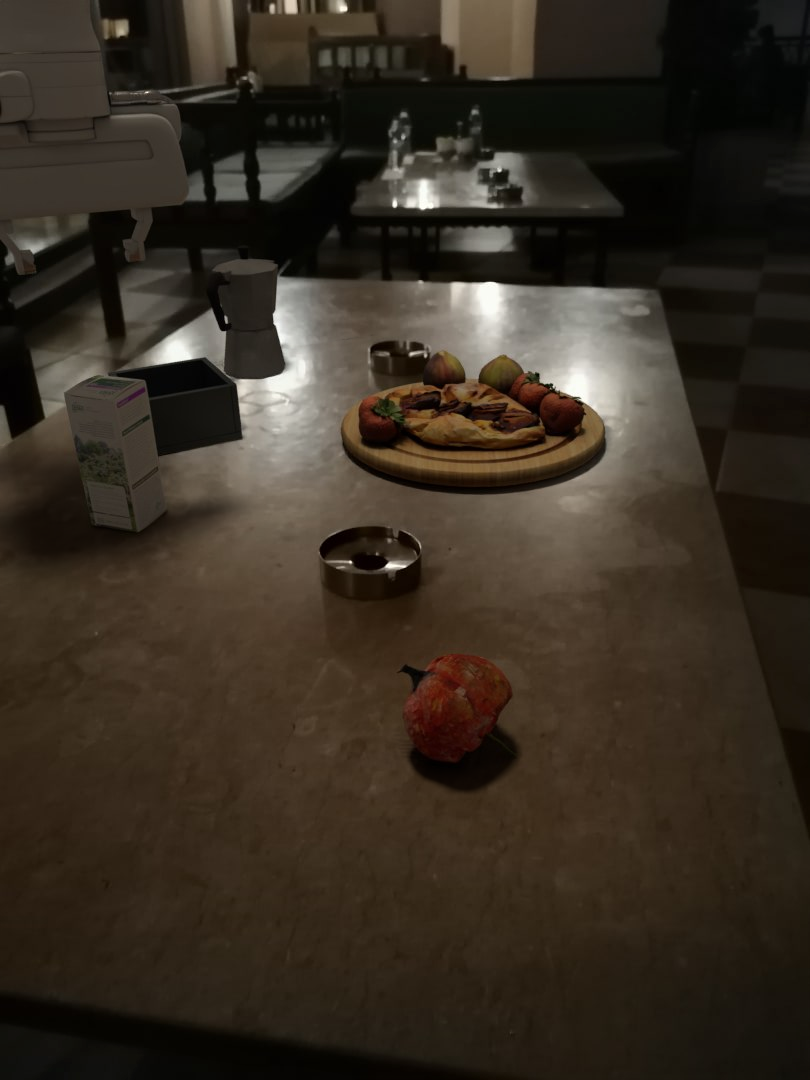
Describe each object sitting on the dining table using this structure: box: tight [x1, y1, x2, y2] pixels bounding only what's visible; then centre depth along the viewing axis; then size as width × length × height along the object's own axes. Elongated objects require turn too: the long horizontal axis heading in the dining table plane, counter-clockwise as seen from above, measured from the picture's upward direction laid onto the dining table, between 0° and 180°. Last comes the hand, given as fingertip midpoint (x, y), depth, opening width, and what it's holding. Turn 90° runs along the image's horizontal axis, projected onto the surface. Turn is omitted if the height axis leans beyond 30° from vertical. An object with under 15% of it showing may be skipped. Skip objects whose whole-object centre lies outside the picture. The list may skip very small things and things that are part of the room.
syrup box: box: [63, 374, 168, 533], centre depth 90 cm, size 6×6×14 cm
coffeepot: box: [205, 244, 286, 380], centre depth 130 cm, size 15×9×18 cm, turn 153°
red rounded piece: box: [396, 653, 518, 764], centre depth 61 cm, size 7×7×10 cm
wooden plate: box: [340, 349, 606, 488], centre depth 109 cm, size 32×32×8 cm
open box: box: [107, 356, 243, 457], centre depth 113 cm, size 13×13×7 cm
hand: (82, 266), depth 81 cm, fingers open, 8 cm apart
